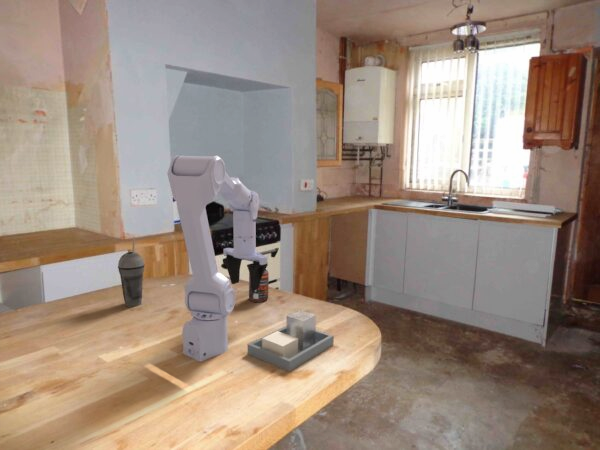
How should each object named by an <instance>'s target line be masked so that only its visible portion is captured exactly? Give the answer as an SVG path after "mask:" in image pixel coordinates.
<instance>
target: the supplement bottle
mask: <svg viewBox="0 0 600 450" xmlns="http://www.w3.org/2000/svg"><path fill="white" fill-rule="evenodd" d="M269 276H270V275H269V271H268V269H267V268H266V269H265V271H264V273H263V275H262V278H261V281H260V285H259V289H256V290H252V289H251V279H250V273H249V272H248V299H249V300H250V301H252V302H256V303H261V302H266V301H268V299H269V294H270V293H269V292H270V291H269V284H270V283H269V280H270V279H269V278H270V277H269Z"/></svg>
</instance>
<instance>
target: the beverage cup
mask: <svg viewBox="0 0 600 450" xmlns="http://www.w3.org/2000/svg"><path fill="white" fill-rule="evenodd" d="M132 238H133V239H132V248H131V249H132V250H131V251H128V252H126V253H124V254H123V255H121V257H120V258H119V260H118V265H117V268H118V269H117V270H118V273H119V274H120V282H121V287H122V288H121V289H122V295H123V300H124V305H125V306H126V307H131V308H133V307H138V306H140V305H142V303H143V302H142V298H143V287H144V286H143V284H144V283H143V282H144V281H143V280H144V270H145V266H146V265H145V261H144V259H143V258H142V256H141V255H140V254H139V253H138V252H135V245H136V236H133V237H132Z"/></svg>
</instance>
